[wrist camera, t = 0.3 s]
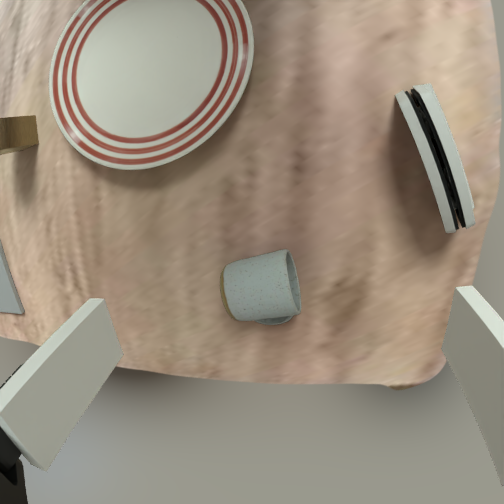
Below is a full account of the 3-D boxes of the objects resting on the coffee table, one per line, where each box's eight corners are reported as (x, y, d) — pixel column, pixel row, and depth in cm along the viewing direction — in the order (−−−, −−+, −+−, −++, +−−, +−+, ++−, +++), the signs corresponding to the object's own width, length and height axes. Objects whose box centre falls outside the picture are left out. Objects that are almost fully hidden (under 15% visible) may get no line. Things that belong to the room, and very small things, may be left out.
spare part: (18, 124, 37) (-29, 130, 28) (35, 115, 37) (-13, 119, 27) (21, 150, 39) (-25, 160, 30) (38, 143, 38) (-9, 152, 29)
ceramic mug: (224, 255, 41) (209, 283, 34) (287, 239, 39) (286, 265, 32) (250, 323, 44) (242, 359, 37) (308, 311, 42) (310, 347, 35)
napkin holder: (472, 205, 34) (489, 239, 26) (441, 215, 37) (450, 251, 29) (427, 80, 29) (438, 77, 22) (394, 92, 32) (393, 94, 24)
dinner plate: (204, -58, 26) (197, -70, 23) (295, 107, 33) (295, 104, 30) (44, 47, 33) (30, 44, 30) (105, 201, 40) (91, 207, 37)
